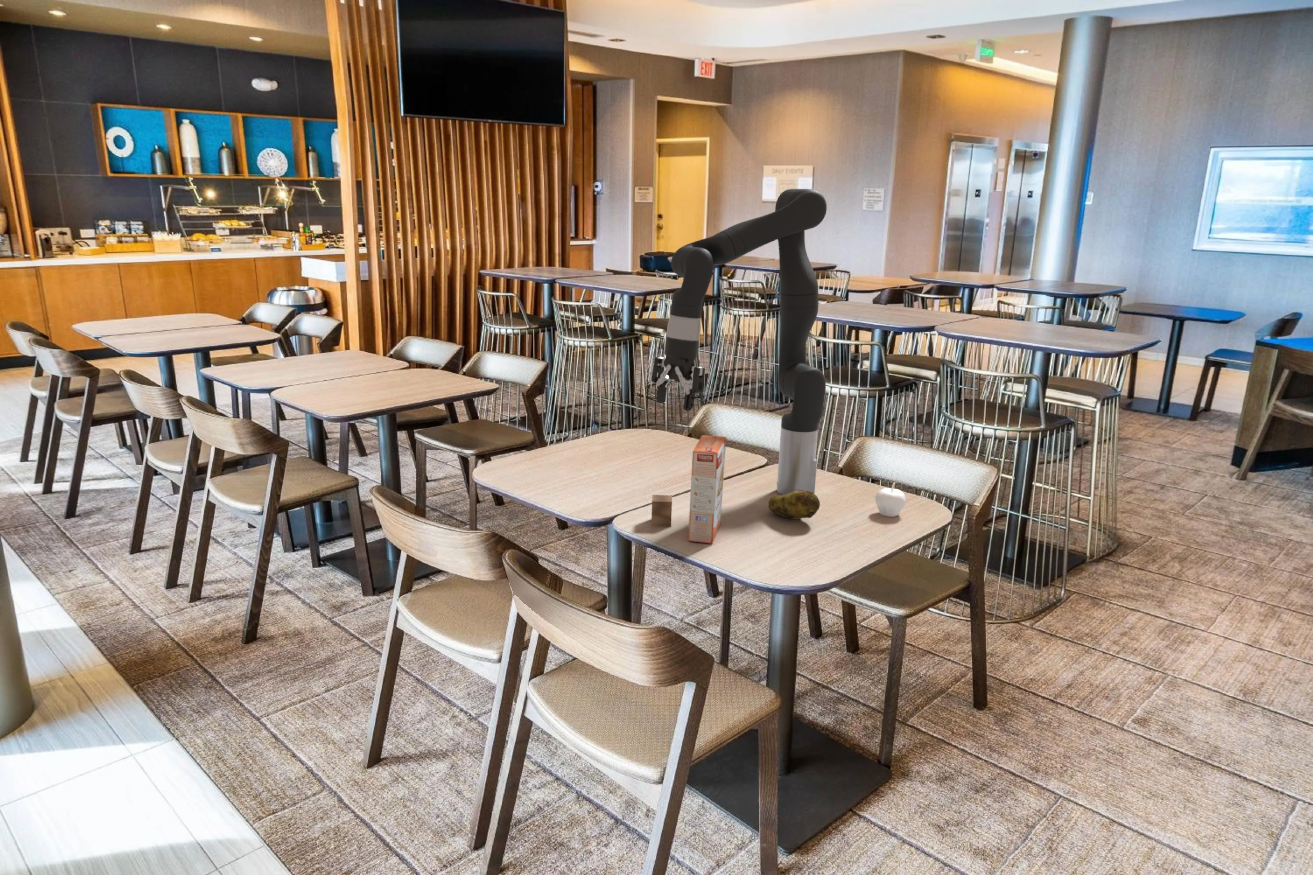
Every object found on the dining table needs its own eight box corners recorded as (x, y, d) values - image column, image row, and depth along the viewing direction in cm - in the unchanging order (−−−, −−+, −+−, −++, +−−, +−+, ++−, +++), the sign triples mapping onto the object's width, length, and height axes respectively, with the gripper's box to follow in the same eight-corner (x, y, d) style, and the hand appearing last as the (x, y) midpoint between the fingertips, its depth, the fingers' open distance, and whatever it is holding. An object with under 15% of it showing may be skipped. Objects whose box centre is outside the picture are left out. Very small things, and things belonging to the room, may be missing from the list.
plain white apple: (910, 516, 209) (914, 484, 207) (889, 521, 205) (892, 489, 203) (889, 507, 215) (892, 476, 213) (868, 512, 211) (871, 480, 209)
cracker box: (714, 545, 188) (719, 452, 182) (687, 542, 189) (690, 450, 184) (722, 522, 201) (727, 435, 196) (697, 520, 202) (700, 433, 197)
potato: (792, 508, 212) (794, 477, 210) (823, 526, 201) (826, 493, 199) (763, 512, 208) (765, 481, 206) (793, 531, 197) (796, 498, 195)
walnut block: (671, 519, 202) (672, 495, 201) (671, 526, 198) (671, 501, 196) (651, 519, 202) (652, 494, 201) (651, 526, 198) (652, 501, 196)
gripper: (717, 341, 195) (707, 412, 198) (671, 332, 204) (663, 399, 208) (694, 341, 189) (685, 413, 193) (649, 331, 199) (640, 400, 202)
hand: (673, 406), depth 200 cm, fingers open, 8 cm apart
